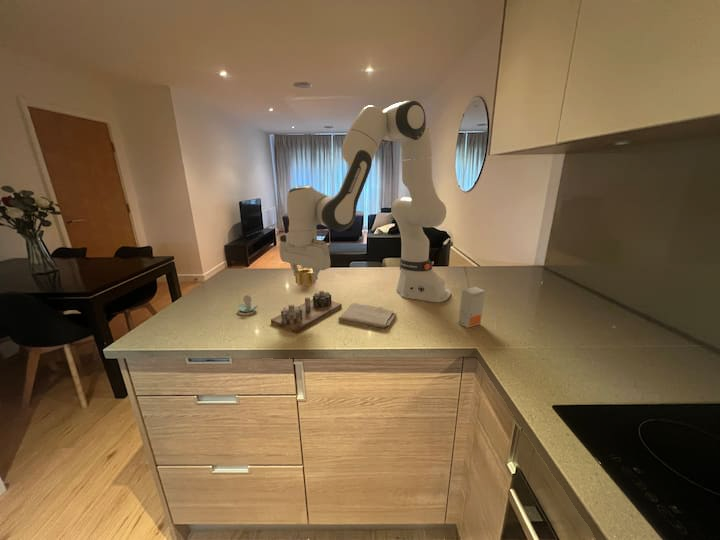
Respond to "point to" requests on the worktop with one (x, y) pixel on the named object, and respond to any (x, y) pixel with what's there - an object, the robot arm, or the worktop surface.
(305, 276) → the brass gear
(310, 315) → the gear board
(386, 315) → the washcloth
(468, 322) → the skincare box
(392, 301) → the worktop surface
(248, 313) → the pacifier
